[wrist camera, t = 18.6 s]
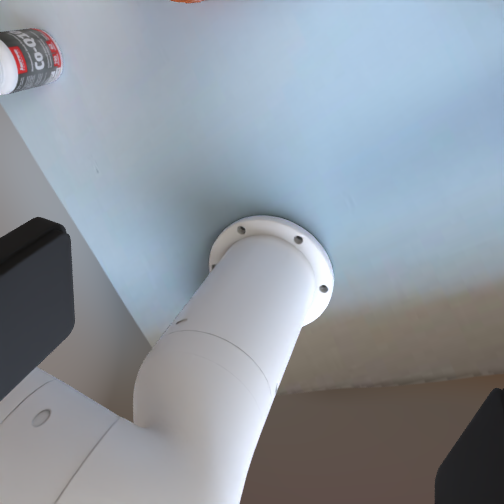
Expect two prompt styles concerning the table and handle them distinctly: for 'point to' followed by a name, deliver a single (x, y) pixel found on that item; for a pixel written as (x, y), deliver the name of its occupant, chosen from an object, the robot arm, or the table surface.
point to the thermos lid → (187, 1)
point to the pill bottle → (28, 60)
